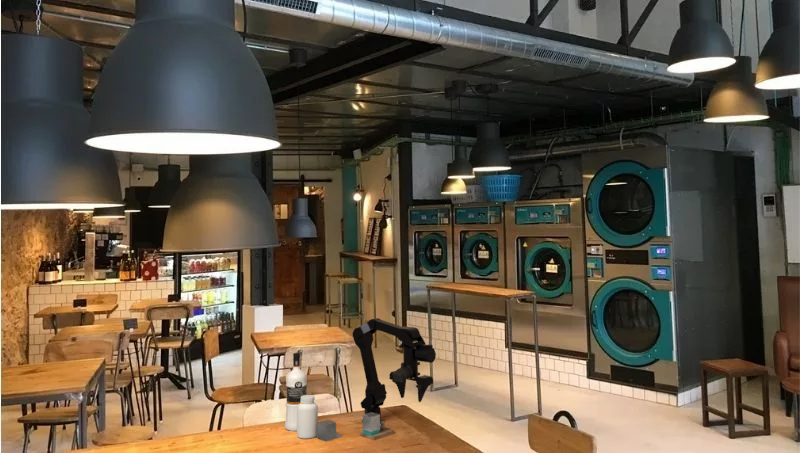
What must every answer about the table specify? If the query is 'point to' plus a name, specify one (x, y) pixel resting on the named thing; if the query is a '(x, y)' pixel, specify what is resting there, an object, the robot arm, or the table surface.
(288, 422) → the vodka
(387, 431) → the pin board
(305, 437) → the pill bottle
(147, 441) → the table surface
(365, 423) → the sleeve
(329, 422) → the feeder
